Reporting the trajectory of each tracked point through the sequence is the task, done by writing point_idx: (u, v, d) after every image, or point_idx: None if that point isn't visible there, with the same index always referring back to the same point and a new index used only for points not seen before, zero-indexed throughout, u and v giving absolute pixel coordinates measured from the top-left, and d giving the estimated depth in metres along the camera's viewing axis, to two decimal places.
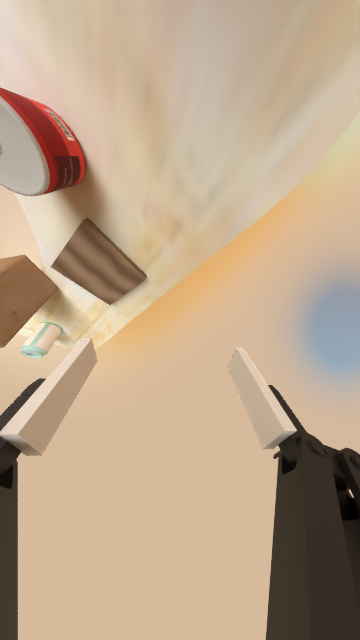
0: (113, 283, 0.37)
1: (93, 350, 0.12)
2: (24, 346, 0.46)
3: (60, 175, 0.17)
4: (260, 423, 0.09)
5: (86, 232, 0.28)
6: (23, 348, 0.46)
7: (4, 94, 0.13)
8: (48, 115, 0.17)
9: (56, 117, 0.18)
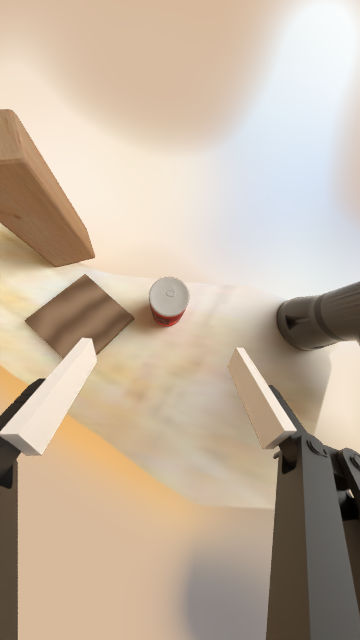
0: (67, 331, 0.30)
1: (93, 350, 0.12)
2: None
3: (161, 318, 0.27)
4: (260, 423, 0.09)
5: (123, 316, 0.33)
6: None
7: None
8: (181, 316, 0.32)
9: None
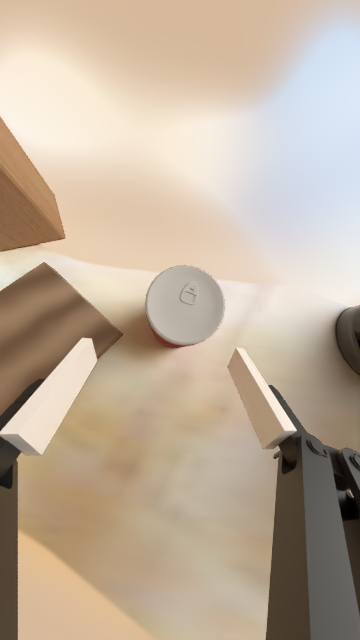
0: (4, 359, 0.17)
1: (93, 350, 0.12)
2: None
3: (168, 343, 0.14)
4: (260, 423, 0.09)
5: (104, 333, 0.20)
6: None
7: None
8: None
9: None
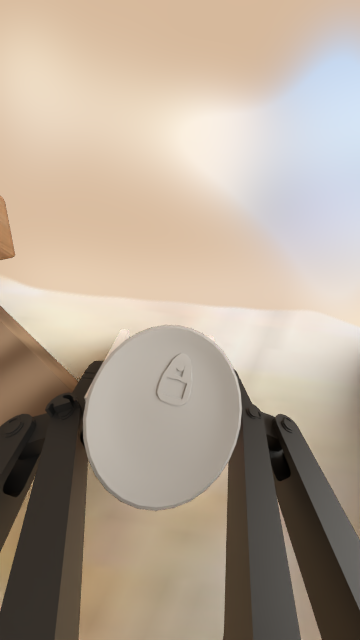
0: None
1: None
2: None
3: None
4: None
5: None
6: None
7: None
8: None
9: None
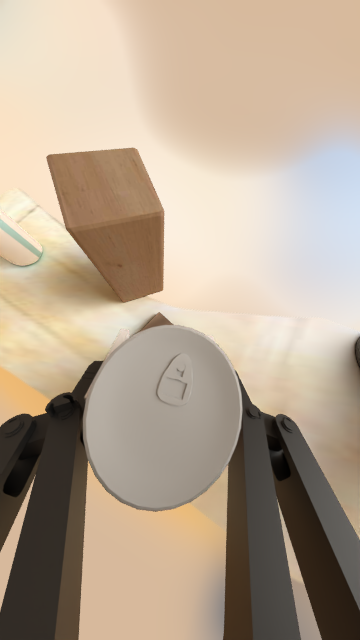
0: None
1: None
2: None
3: None
4: None
5: None
6: None
7: None
8: None
9: None
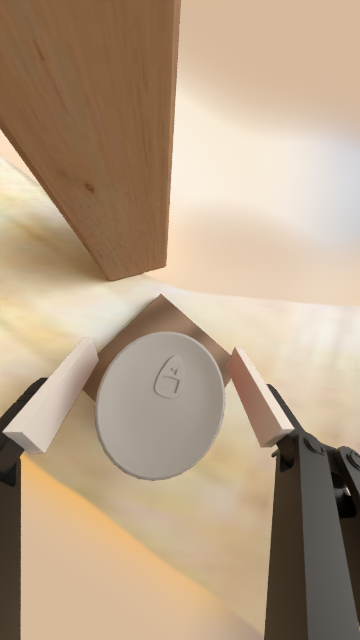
0: None
1: (94, 349, 0.12)
2: None
3: None
4: (258, 422, 0.09)
5: None
6: None
7: None
8: None
9: None
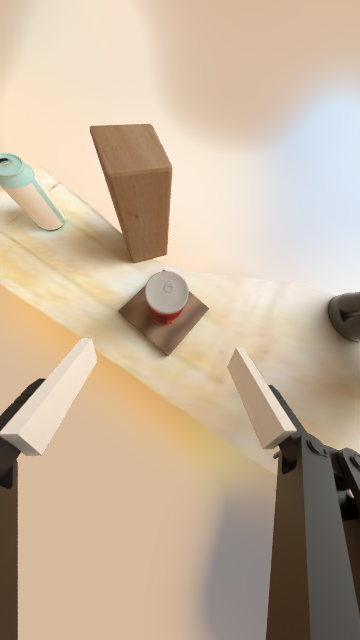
0: None
1: (93, 350, 0.12)
2: (31, 170, 0.28)
3: (158, 315, 0.25)
4: (260, 423, 0.09)
5: (201, 308, 0.36)
6: (26, 165, 0.28)
7: None
8: (179, 314, 0.30)
9: (178, 316, 0.32)
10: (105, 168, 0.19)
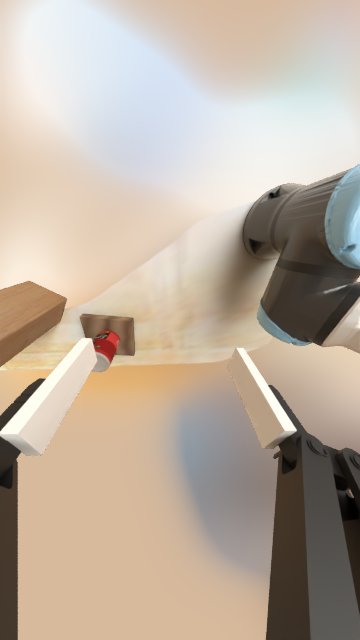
0: None
1: (93, 350, 0.12)
2: None
3: None
4: (260, 423, 0.09)
5: (127, 324, 0.46)
6: None
7: (110, 356, 0.40)
8: (116, 346, 0.45)
9: (118, 342, 0.47)
10: None
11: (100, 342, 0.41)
